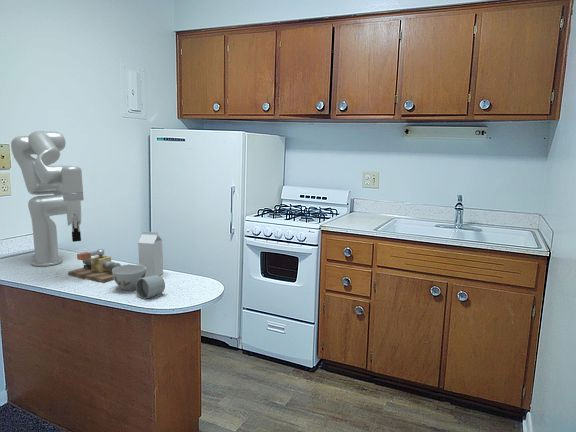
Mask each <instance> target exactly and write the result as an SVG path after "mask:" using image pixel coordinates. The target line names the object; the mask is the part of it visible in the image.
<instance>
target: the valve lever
mask: <svg viewBox="0 0 576 432" xmlns="http://www.w3.org/2000/svg"><path fill="white" fill-rule="evenodd" d="M96 255H97V256H99V255H103V256H105V249H101V248H100V249H96V250H95V251H91V252H89V251H84V252H82V253H77V254H76V259H77V261H78V260H79V261H83V260H85V259H89V258H92V257H93V256H94V257H95V256H96Z"/></svg>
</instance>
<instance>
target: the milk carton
mask: <svg viewBox="0 0 576 432" xmlns="http://www.w3.org/2000/svg"><path fill="white" fill-rule="evenodd" d="M141 233H142V234H141V236H140V238H139V240H138V241H137V242H138V244H137V246H138V265H142V266H144V267H146V275H145V277H149V276H154V275H158V276H162V275H163V274H164V260H163V259H164V258H163V256H164V255H163V240H162V238H161V237H160V235H159V233H158V231H141Z"/></svg>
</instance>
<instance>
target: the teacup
mask: <svg viewBox="0 0 576 432" xmlns="http://www.w3.org/2000/svg"><path fill="white" fill-rule="evenodd" d="M120 265H121V264H120ZM112 274H113V278H114V280H113V281H114V282H115V284H116V285H117V286H118V287H119V288H121V289H122V291H133V290H135V291H136V283H137V281H138V279H140V278H144V277H145V275H146V267H144V266H142V265H139V264H122V265H121V266H117V267H115V268H113V270H112Z"/></svg>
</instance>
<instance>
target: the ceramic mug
mask: <svg viewBox="0 0 576 432" xmlns="http://www.w3.org/2000/svg"><path fill="white" fill-rule="evenodd" d="M165 288H166V283H165V280H164V278H163V277H162V275H160V276H158V275H154V276H149V277H144V278H140V279H138V281H137V283H136V289H135V292H136V294H137V296H138V297H139V298H141V299H142V300H146V299H149V298H152V297H155V296H158V295H160V294H162V293H163V292H164V291H165Z"/></svg>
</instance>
